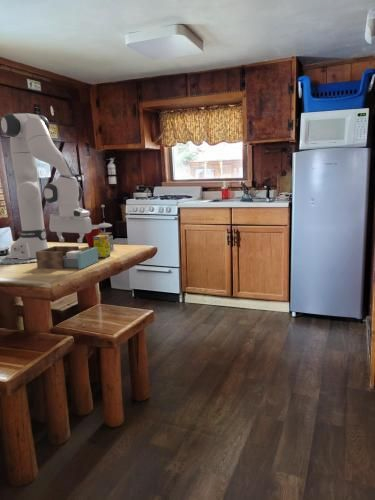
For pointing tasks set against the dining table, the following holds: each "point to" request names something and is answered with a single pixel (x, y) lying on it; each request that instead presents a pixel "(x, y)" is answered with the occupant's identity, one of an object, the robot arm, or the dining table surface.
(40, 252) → the brown wooden crate
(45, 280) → the dining table surface
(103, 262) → the dining table surface
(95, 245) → the yellow cylinder
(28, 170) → the robot arm
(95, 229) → the plastic cup
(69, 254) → the block
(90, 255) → the tray
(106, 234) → the french press
